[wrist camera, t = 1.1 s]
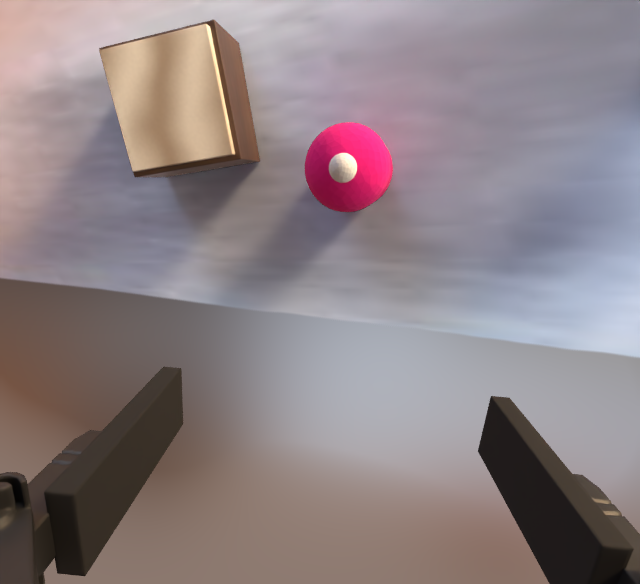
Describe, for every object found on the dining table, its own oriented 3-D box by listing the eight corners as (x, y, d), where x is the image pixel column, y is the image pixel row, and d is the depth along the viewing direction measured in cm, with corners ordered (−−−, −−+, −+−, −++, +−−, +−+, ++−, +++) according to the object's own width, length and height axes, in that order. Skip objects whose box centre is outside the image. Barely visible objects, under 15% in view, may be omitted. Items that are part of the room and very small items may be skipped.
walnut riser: (238, 42, 39) (210, 15, 32) (260, 161, 42) (238, 158, 35) (138, 66, 41) (92, 45, 34) (166, 177, 44) (129, 177, 38)
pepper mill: (365, 121, 39) (354, 71, 20) (404, 176, 40) (427, 178, 21) (313, 165, 41) (259, 157, 22) (351, 217, 42) (331, 250, 24)
